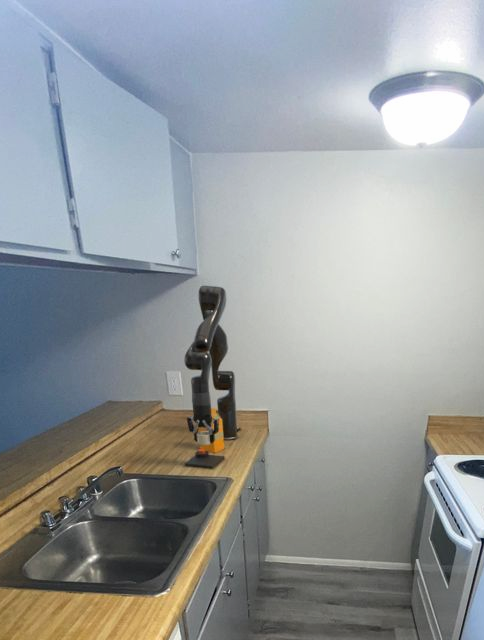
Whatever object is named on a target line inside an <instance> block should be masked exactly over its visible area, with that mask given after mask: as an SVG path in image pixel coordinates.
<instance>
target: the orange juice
mask: <svg viewBox="0 0 484 640" xmlns="http://www.w3.org/2000/svg"><path fill="white" fill-rule="evenodd" d="M211 416H212V418H213V419H219V432H218V433H216V434H215V441H214V443H211V444H210V445H199V449H205V451H208V453H209V452H210V453H217V452H219V451H222V450H224V449H225V442H224V441H225V440H223V424H222V418H221V416H220V415H219V413H218V408H216V407H215V408H214V407H211ZM211 424H212V426H213V429H214V424H213V422H211ZM203 431H207V432H209V431H208V430H207V429H206V428H204V427H200V428H199V430H198V432H203Z"/></svg>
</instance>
